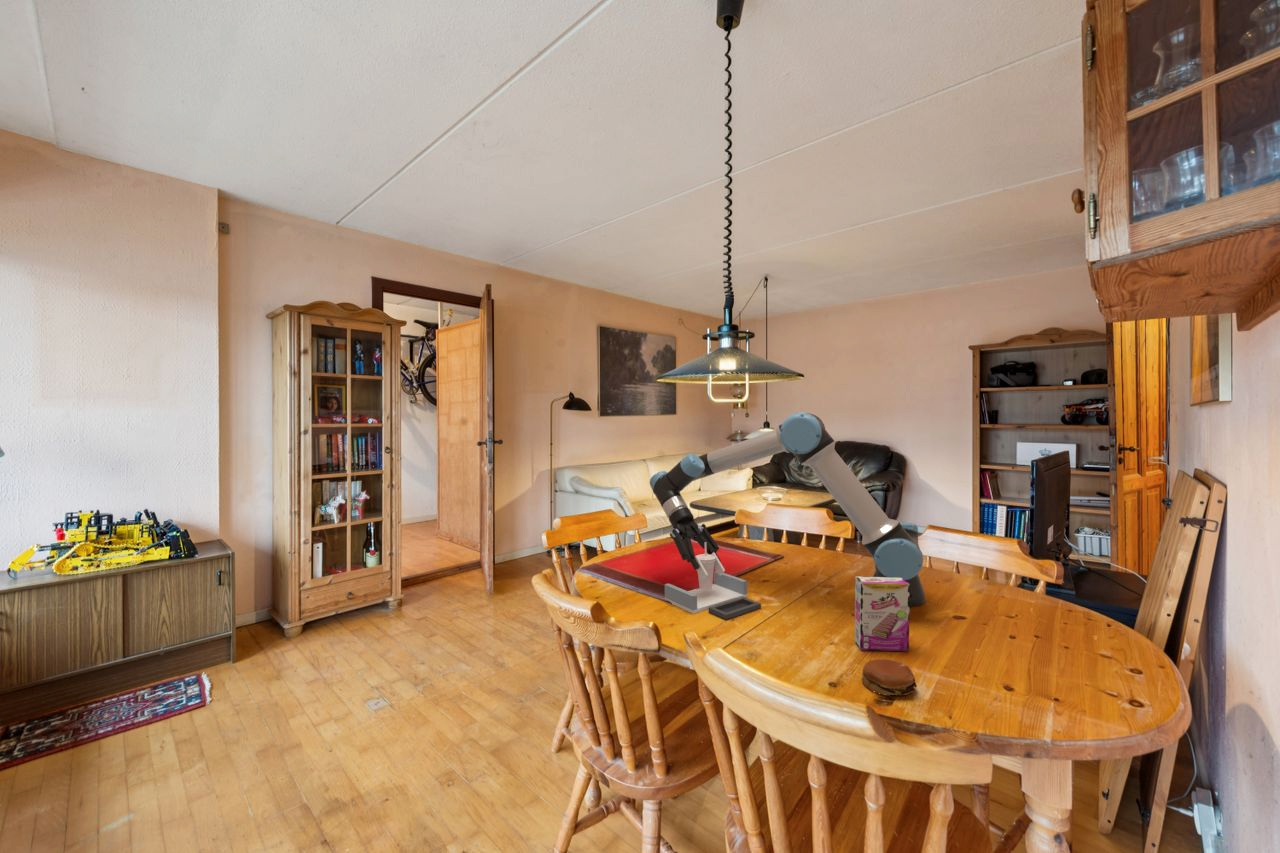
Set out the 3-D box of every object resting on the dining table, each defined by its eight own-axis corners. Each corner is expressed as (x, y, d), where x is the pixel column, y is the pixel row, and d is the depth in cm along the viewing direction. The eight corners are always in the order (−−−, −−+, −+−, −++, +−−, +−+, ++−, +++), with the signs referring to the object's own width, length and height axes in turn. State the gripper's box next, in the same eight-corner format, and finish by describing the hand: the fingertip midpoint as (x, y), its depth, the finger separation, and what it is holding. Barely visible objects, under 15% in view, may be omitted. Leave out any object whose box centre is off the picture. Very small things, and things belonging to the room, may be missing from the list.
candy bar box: (861, 651, 119) (860, 582, 119) (854, 642, 124) (853, 575, 124) (910, 653, 118) (910, 583, 117) (902, 643, 123) (901, 576, 122)
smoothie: (718, 585, 157) (717, 541, 157) (714, 592, 151) (713, 546, 151) (697, 583, 159) (697, 539, 159) (693, 590, 153) (692, 544, 153)
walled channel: (747, 596, 156) (747, 580, 156) (693, 613, 143) (692, 596, 143) (717, 585, 167) (717, 570, 167) (664, 600, 154) (664, 584, 154)
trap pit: (760, 608, 146) (760, 603, 146) (726, 620, 138) (726, 615, 138) (742, 601, 152) (742, 596, 152) (708, 612, 144) (708, 607, 144)
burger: (853, 684, 105) (853, 661, 105) (878, 671, 110) (878, 650, 110) (900, 706, 97) (900, 682, 97) (925, 691, 102) (925, 668, 102)
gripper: (695, 516, 173) (730, 575, 160) (649, 524, 162) (683, 588, 149) (705, 503, 168) (742, 562, 155) (659, 509, 157) (695, 574, 144)
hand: (713, 575), depth 152 cm, fingers closed on smoothie, 6 cm apart
